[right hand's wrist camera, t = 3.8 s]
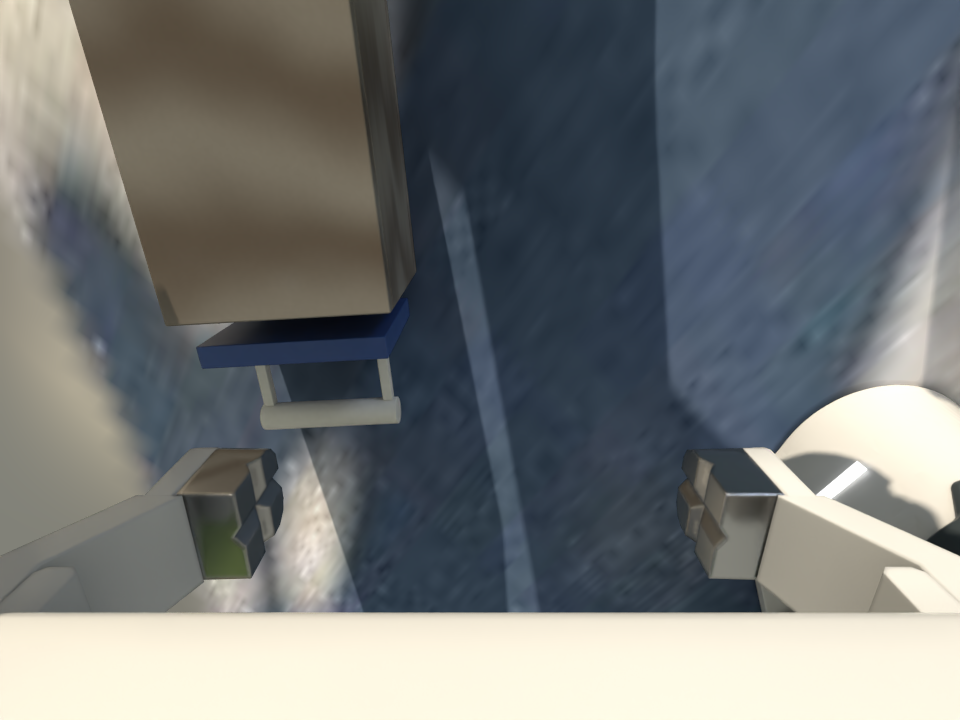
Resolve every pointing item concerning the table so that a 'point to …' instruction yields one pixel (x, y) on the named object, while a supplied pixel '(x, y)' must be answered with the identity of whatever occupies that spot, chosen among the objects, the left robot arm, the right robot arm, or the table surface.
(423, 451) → the table surface
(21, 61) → the table surface
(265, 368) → the drawer
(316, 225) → the cabinet
